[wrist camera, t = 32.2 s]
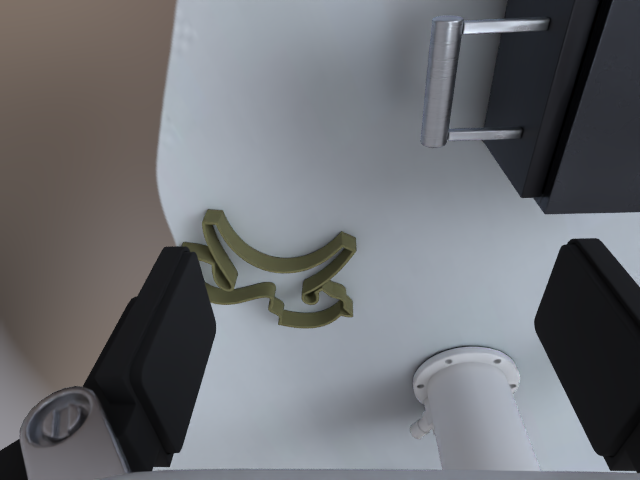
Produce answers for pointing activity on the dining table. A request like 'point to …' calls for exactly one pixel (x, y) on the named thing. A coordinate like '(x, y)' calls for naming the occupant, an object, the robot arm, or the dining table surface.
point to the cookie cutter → (312, 286)
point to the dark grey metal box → (602, 123)
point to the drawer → (513, 84)
